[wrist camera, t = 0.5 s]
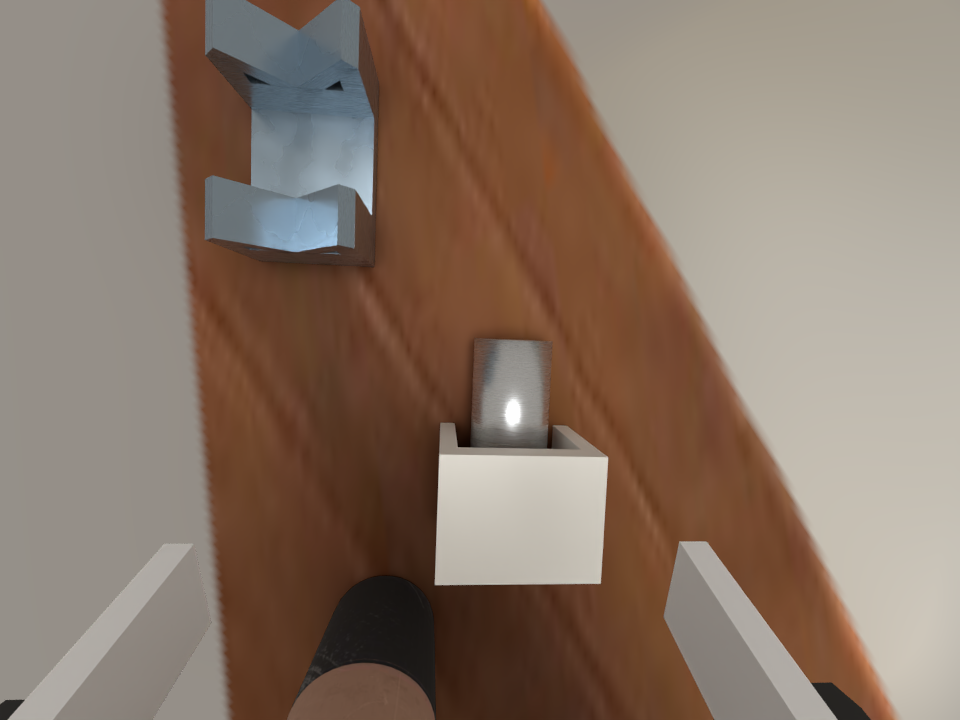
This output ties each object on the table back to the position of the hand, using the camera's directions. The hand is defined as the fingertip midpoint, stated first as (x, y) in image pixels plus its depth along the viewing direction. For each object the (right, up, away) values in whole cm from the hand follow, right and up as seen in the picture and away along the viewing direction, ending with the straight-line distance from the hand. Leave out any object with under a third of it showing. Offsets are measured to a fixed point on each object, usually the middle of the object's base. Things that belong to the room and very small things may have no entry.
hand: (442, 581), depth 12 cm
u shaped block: (+3, -2, +19) cm, 20 cm away
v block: (-10, +18, +17) cm, 27 cm away
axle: (+3, +3, +19) cm, 19 cm away
